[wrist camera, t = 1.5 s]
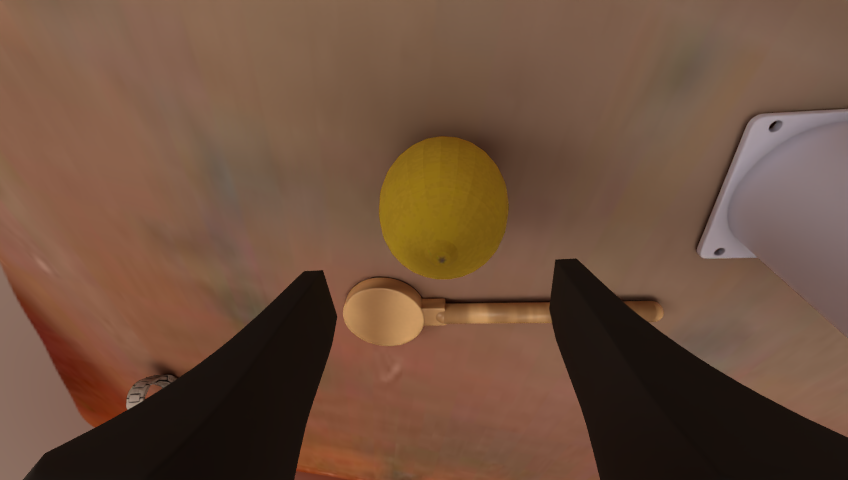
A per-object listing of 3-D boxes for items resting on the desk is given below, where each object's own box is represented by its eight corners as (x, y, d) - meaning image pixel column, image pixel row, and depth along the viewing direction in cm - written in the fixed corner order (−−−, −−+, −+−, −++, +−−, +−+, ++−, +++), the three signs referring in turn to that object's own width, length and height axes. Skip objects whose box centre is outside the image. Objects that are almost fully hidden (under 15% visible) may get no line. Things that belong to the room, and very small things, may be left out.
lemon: (465, 227, 22) (471, 334, 15) (377, 188, 21) (341, 284, 14) (519, 145, 19) (556, 232, 12) (419, 93, 18) (399, 159, 11)
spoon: (669, 271, 22) (680, 285, 21) (646, 333, 26) (655, 348, 24) (339, 277, 24) (334, 291, 23) (354, 334, 27) (350, 348, 26)
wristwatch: (178, 407, 34) (141, 464, 30) (139, 363, 31) (91, 421, 27) (213, 405, 34) (180, 463, 30) (177, 361, 31) (134, 420, 26)
